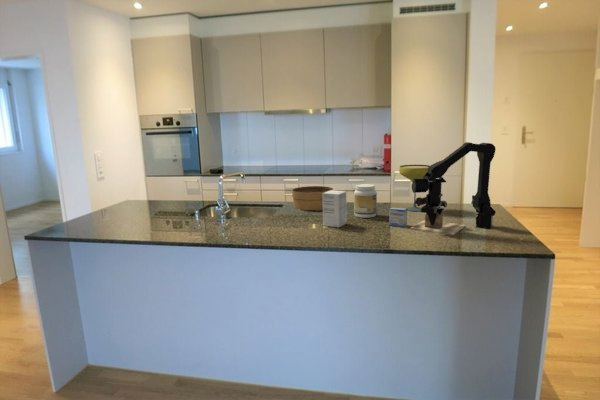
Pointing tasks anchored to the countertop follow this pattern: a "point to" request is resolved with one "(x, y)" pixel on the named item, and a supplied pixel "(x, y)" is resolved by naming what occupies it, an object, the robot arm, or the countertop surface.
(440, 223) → the block
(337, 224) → the supplement box
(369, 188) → the supplement tub
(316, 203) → the steamer basket
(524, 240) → the countertop surface
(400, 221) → the medicine box
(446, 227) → the birch board
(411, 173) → the cocktail glass
